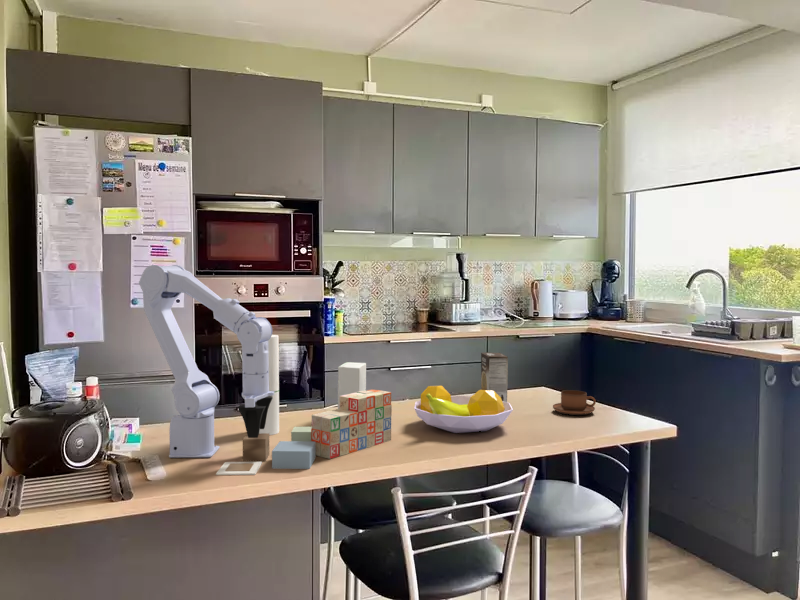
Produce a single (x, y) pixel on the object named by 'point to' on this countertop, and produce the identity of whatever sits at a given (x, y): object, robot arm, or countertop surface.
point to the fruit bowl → (462, 410)
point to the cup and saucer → (574, 403)
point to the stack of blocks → (353, 424)
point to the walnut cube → (256, 448)
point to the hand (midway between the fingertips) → (256, 433)
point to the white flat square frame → (239, 468)
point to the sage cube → (301, 434)
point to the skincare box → (351, 378)
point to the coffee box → (494, 373)
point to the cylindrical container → (273, 387)
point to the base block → (293, 455)
